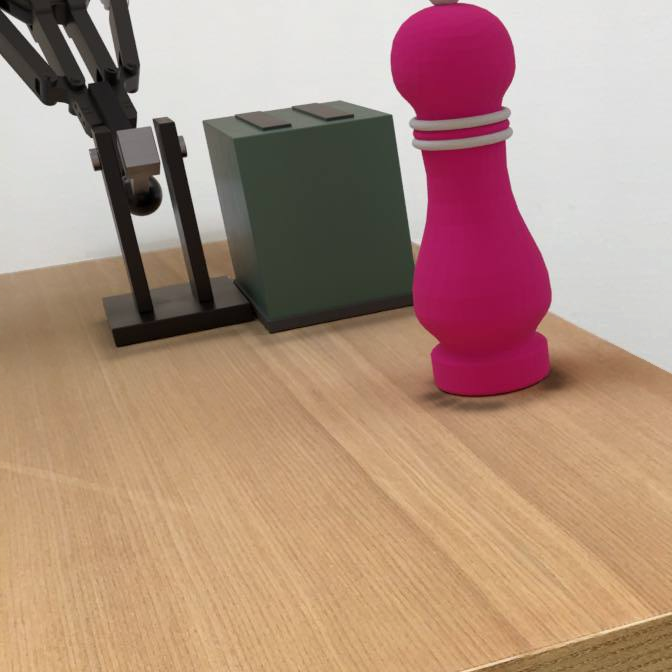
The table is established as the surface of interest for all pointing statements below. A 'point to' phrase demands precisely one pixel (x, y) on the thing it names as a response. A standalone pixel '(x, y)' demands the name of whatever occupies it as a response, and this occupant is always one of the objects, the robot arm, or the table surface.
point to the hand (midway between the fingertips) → (132, 163)
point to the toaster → (313, 211)
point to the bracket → (201, 291)
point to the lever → (140, 170)
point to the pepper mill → (470, 204)
